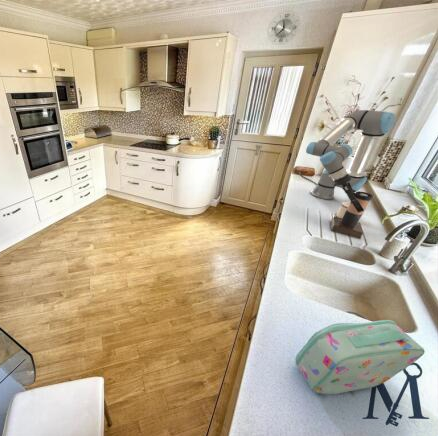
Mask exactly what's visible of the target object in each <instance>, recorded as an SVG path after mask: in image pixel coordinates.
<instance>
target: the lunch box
mask: <svg viewBox="0 0 438 436" xmlns="http://www.w3.org/2000/svg"><path fill="white" fill-rule="evenodd" d="M425 351H426V350H425V348H424V347H423V346H422V345H420V344H419V343H418V342H417V341H415V339H413V338H412V337H411V336H410V335H409V334H407V333H406V332H405V330H403V329H402V328H401V327H400V326H399V325H398V324H397V322H395V321H394V320H390V319H380V320H374V321H369V322H340V323H333V324H330V325H327V326H325V327H324V328H322V329H320V330H318V331H316V332H315V333H313V335H312V336H310V338H309V339H308V341H307V342H306V343H305V345H303V347H302V348H301V349H300V350H299V352H297V354H296V356H295V359H294V360H295V365H296V366H297V367H298V369H299V371H300V372H301V374H302V375H303V377H304V379H305V380H306V382H307V384H308V386H309V387H310V389H311V391H312V392H313V393H316V394H322V395H329V396H331V395H337V394H343V393H348V392H352V391H354V392H355V391H359V390H364V389H365V390H366V389H371V388H375V387H377V386H379V385H381V384H383V383H386V382H387V381H389V380H391V379H392V378H393V377H396V375H397V374H399V373H401V372H403V371H404V370H405V369H407V368H408V367H410V366H411V365H413V364H414V363H415V362H416V361H418V360H419V359H420V358H422V356H424V354H425Z"/></svg>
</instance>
